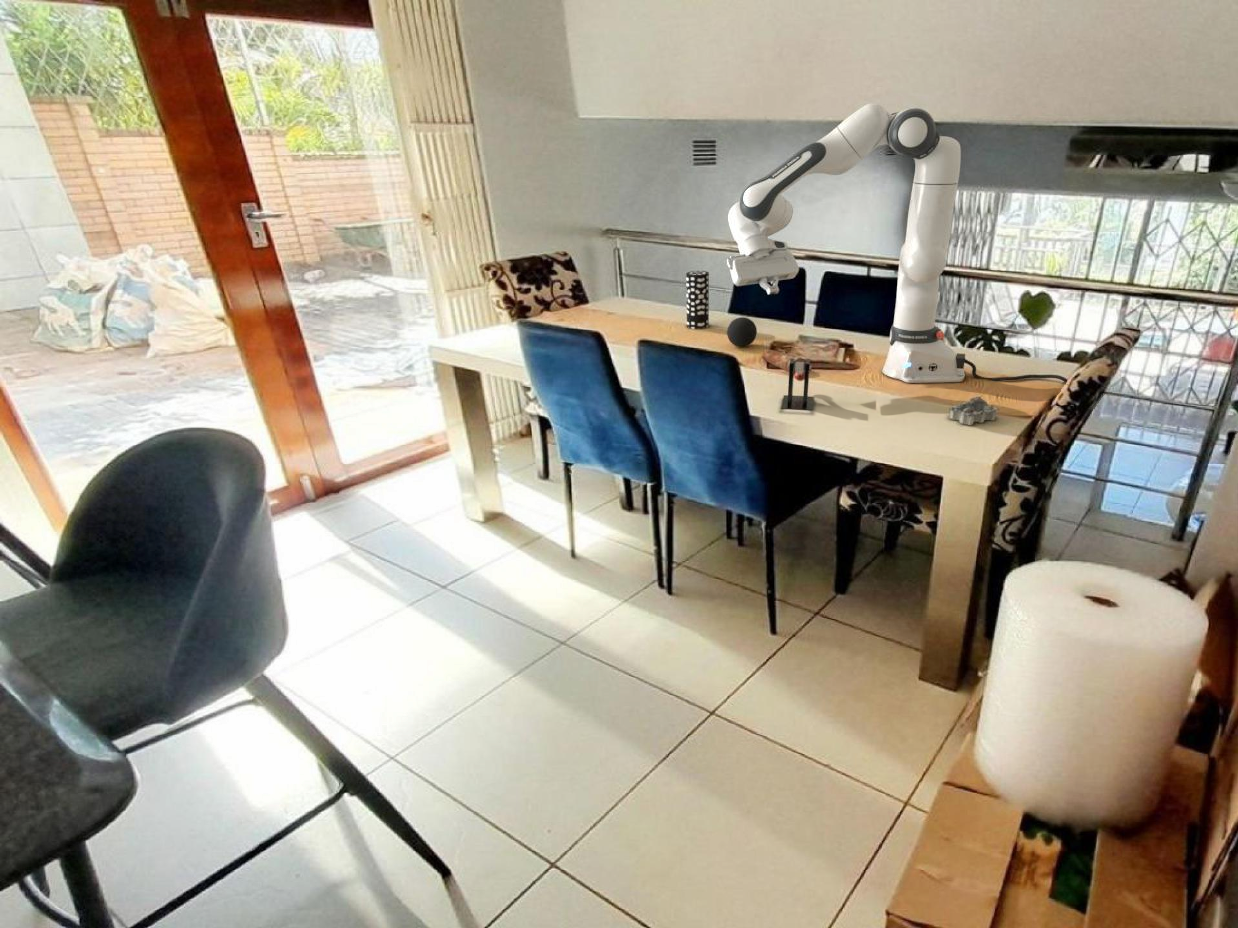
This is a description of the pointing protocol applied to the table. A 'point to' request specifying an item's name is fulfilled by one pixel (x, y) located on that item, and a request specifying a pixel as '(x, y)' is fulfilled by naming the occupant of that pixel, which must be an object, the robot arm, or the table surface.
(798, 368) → the lever
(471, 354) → the table surface
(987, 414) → the grey lumpy block
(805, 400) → the bracket
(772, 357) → the bread
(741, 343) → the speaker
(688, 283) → the white-spotted black cylinder
